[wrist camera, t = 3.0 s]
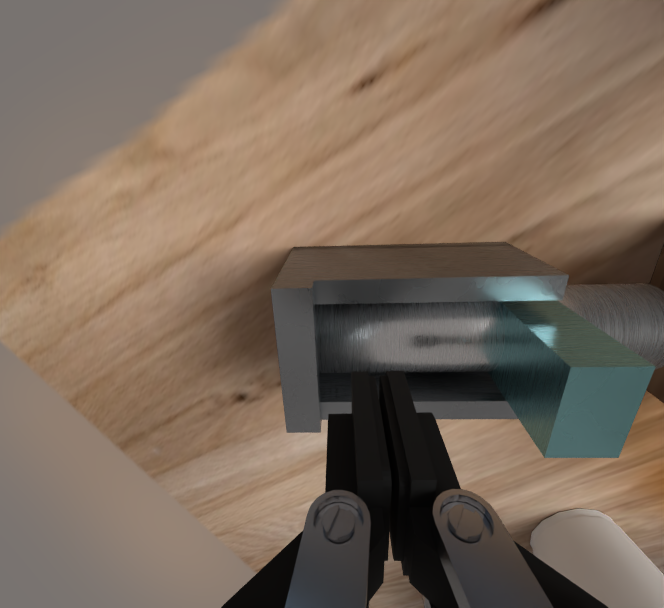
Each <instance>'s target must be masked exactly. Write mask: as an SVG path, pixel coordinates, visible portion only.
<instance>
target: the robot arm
mask: <svg viewBox="0 0 664 608" xmlns="http://www.w3.org/2000/svg"><path fill="white" fill-rule="evenodd" d="M351 400H352V413H350V414H329V415H328V437H327V464H326V491H325V493H324V494H322V495H321V496H319V497H318V498H317V499H316V500H315V501H314V502H313V503H312V505H311V506H310V509H309V511H308V514H307V517H306V522H305V526H304V530H303V531H302V532H301V533H300V534H299V535H298V536H297V537H296V538H295V539H294V540H292V541H291V542H290V543H289V544H288V545H287V546H286V547H285V548H284V549H283V550H282V551H281V552H280V553H279V554H277V555H276V556H275V557H274V558H273V559H272V560H271V561H270V562H269V563H268V564H267V565H266V566H265V567H264V568H263V569H261V570H260V571H259V572H258V573H257V574H256V575H255V576H254V577H253V578H252V579H251V580H250V581H249V582H248V583H247V584H245V585H244V586H243V587H242V588H241V589H240V590H239V591H238V592H237V593H236V594H235V595H234V596H233V597H232V598H231V599H229V600H228V601H227V602H226V603H225V604H224V605H223V606H222V607H221V608H369V601H370V599H371V598H372V597H373V595H374V594H375V593H376V591H377V590H378V589H379V587H380V586H381V585H382V584H383V578H384V561H388V547H389V531H390V539H391V546H392V553H393V559H394V561H401V563H402V570H403V575H409V580H410V583H411V584H412V585H413V586H414V587H415V588H416V589H417V590H418V591H419V592H420V593H421V594H422V597H423V602H424V607H425V608H608V607H607V606H606V605H605V604H603V603H602V602H600V601H599V600H597V599H596V598H595V597H593V596H592V595H590V594H589V593H587V592H586V591H585V590H583V589H582V588H580V587H579V586H577V585H576V584H575V583H573V582H572V581H570V580H569V579H567V578H566V577H565V576H563V575H562V574H560V573H559V572H557V571H556V570H554V569H553V568H552V567H550V566H549V565H547V564H546V563H544V562H543V561H542V560H540V559H539V558H537V557H536V556H534V555H533V554H532V553H530V552H529V551H527V550H526V549H524V548H523V547H522V546H520V545H519V544H517V543H516V542H514V541H513V539H512V538H511V536H510V534H509V533H508V531H507V529H506V528H505V526H504V524H503V523H502V521H501V519H500V518H499V516H498V514H497V513H496V512H495V510H494V509H493V508H492V506H491V505H490V504H489V503H488V502H487V501H485V500H484V499H483V498H482V497H480V496H478V495H477V494H475V493H473V492H470V491H467V490H463V489H461V488H460V485H459V483H458V480H457V477H456V474H455V472H454V469H453V466H452V463H451V461H450V458H449V455H448V453H447V450H446V447H445V444H444V442H443V439H442V436H441V434H440V431H439V428H438V425H437V423H436V420H435V417H434V415H433V414H432V413H431V412H418V413H416V409H415V406H414V403H413V399H412V396H411V393H410V390H409V386H408V383H407V380H406V376H405V373H404V371H386V375H385V376H380V378H379V397H378V391H377V385H376V379H375V376H369V374H368V371H356V372H351Z"/></svg>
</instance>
